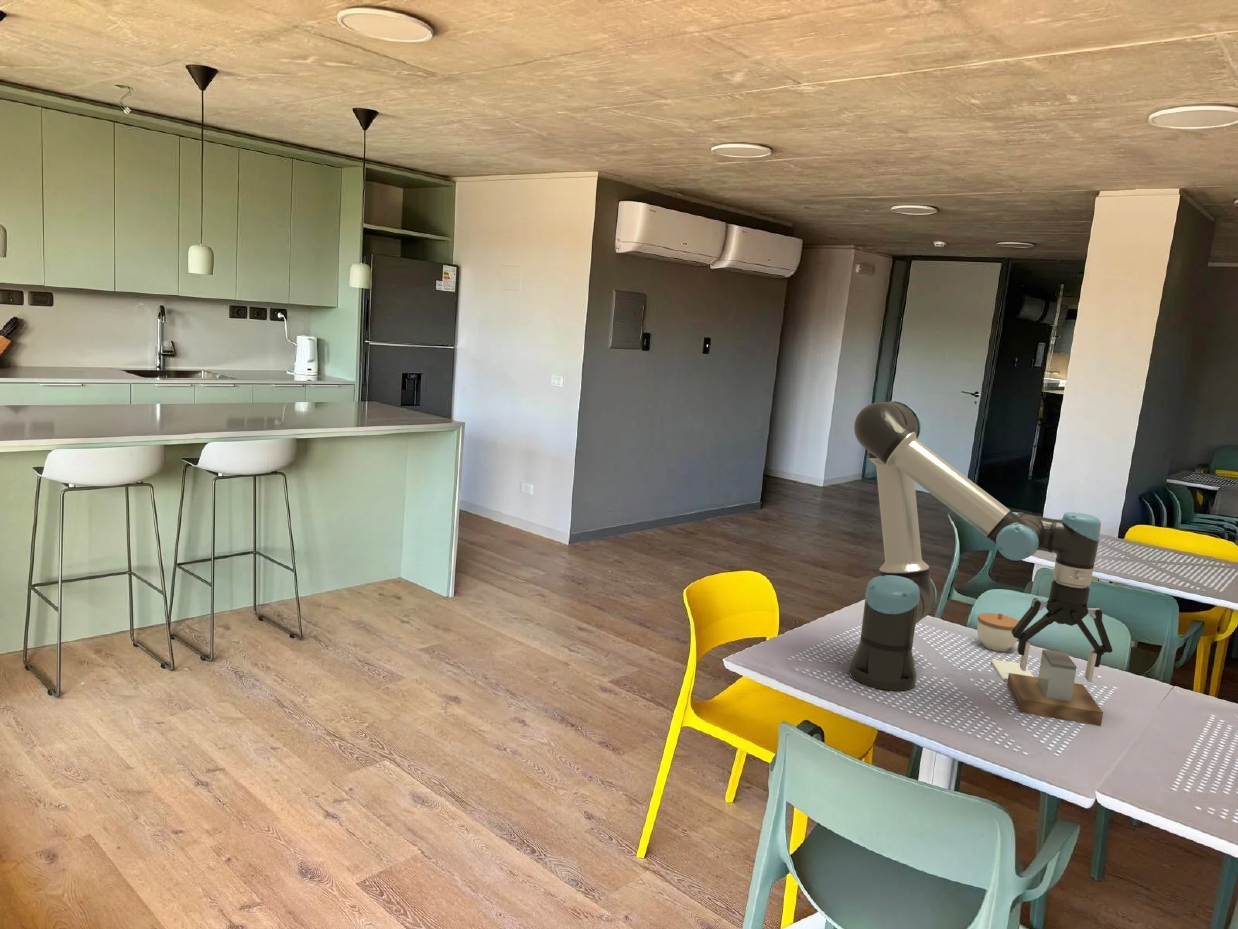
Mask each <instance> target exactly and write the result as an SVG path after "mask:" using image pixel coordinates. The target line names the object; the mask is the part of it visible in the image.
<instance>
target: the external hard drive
mask: <svg viewBox="0 0 1238 929" xmlns="http://www.w3.org/2000/svg"><path fill="white" fill-rule="evenodd" d="M990 665H991V666H992V668H993V670H994V671H995V672H996V674H997V675H998V677H999V678H1000V680H1001V681H1002V682H1003V683H1007V682H1008V675H1009V673H1013V674H1019V675H1026V676H1032V677H1035V676H1034V675H1033V673H1032V672H1031V671H1030V669H1029V668H1028V666H1026V671H1022V670H1021V668H1020V662H1014V661H1006V660H999V659H990Z"/></svg>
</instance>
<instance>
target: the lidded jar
mask: <svg viewBox="0 0 1238 929" xmlns="http://www.w3.org/2000/svg"><path fill="white" fill-rule="evenodd" d="M1019 621H1020V620H1019V619H1017V618H1014V617H1012V616H1009V615H1005V614H1004V613H1002V612H998V613H991V612H982V613H980V614H978V615H977V626H976V630H977V637H978V638H979V640H980V642H981V643H982V644H983V647H985V648H987V649H989V650H992V651H996V652H1008V650H1009V649H1011V648H1013V647H1014V645H1016V643H1018V641H1019V639H1017V638H1014V636H1013V635H1012V633H1011V631H1012V630H1013V628H1014V627H1015V626H1016V625H1017V623H1018V622H1019Z"/></svg>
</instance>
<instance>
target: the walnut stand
mask: <svg viewBox="0 0 1238 929" xmlns="http://www.w3.org/2000/svg"><path fill="white" fill-rule="evenodd" d="M1037 682H1038V677H1037V676H1034V677H1032V676H1026V675H1019V674H1013V673H1009V675H1008V682H1006V683H1007V684H1006V685H1007V688H1008V690H1009V692H1010V694H1011V696H1012V697H1013V700H1014V702H1015V704H1016V706H1017V708H1018V710H1019V712H1020V713H1023V714H1029V715H1034V716H1035V715H1036V716H1040V717H1046V718H1053V719H1059V720H1065V721H1071V722H1075V723H1076V722H1077V723H1083V724H1089V725H1095V726H1102V721H1103V715H1104V711H1103V710H1102V708H1101V707H1100V706H1099V704H1098V703H1097V702H1096V701H1095V698H1093V696H1092V695H1091V693H1090V692H1089V691H1088V689H1087V688H1086V686H1084V684H1081V683H1075V682H1074V686H1073V692H1072V699H1071V702H1070V701H1064V700H1058V699H1052V698H1046V696H1045V695H1044V693H1043V691H1042V689H1041V688H1040V686H1039V684H1038V683H1037Z"/></svg>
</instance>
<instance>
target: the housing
mask: <svg viewBox="0 0 1238 929" xmlns="http://www.w3.org/2000/svg"><path fill="white" fill-rule="evenodd" d="M1077 669H1078V668H1077V666H1076V664H1075V663H1074V662H1073V660H1072V659H1071V657H1070V656H1069V654H1068V653H1067V652H1061V651H1057V650H1055V651H1054V650H1048V649H1042V652H1041V658H1040V664H1039V670H1038V682H1037V683H1038V684H1039V686H1040V688H1041V689H1042V691H1043V693H1044V695H1045V696H1046V698H1052V699H1058V700H1064V701H1070V702H1071V699H1072V692H1073V686H1074V683H1075V679H1076V673H1077Z"/></svg>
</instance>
